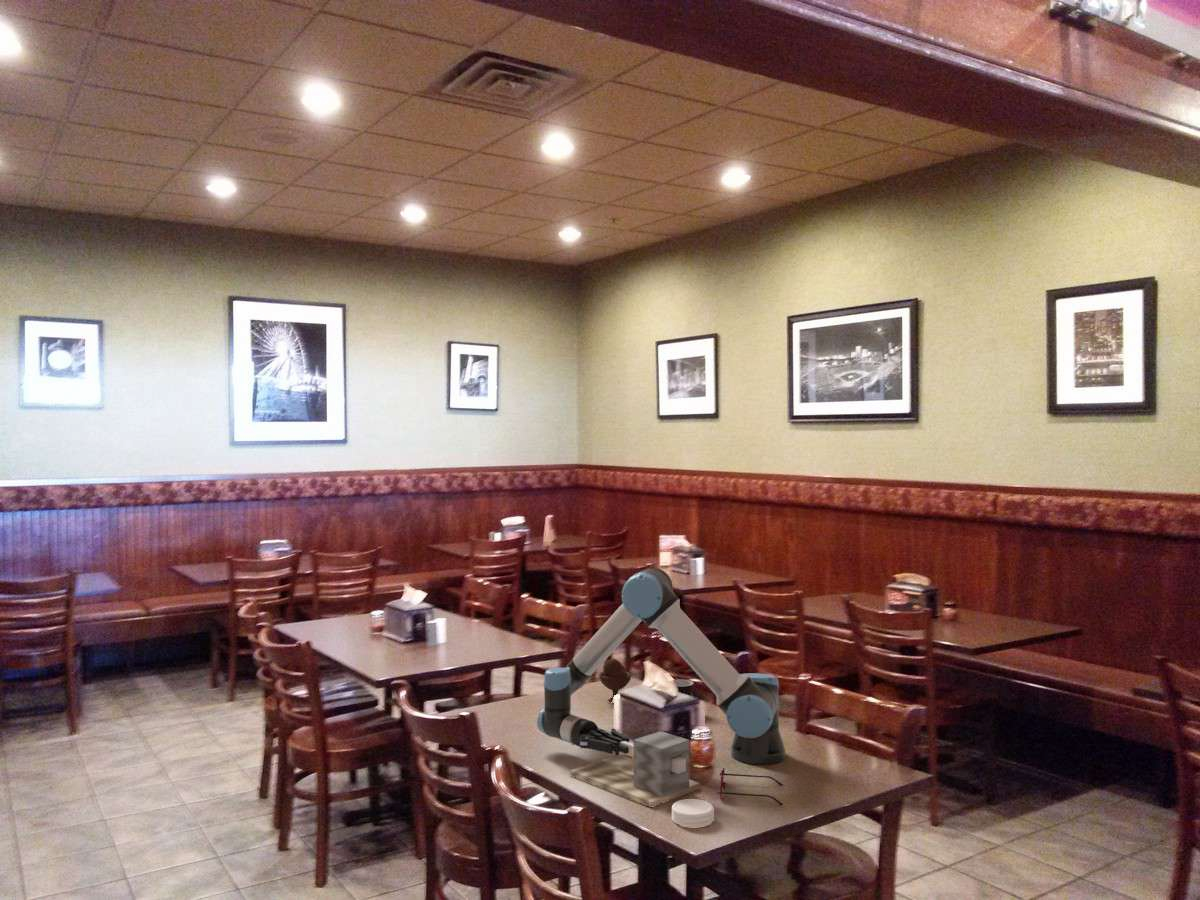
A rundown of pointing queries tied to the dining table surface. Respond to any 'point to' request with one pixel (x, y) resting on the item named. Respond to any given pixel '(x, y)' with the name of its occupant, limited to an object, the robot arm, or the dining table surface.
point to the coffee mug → (685, 686)
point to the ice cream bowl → (614, 676)
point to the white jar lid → (692, 812)
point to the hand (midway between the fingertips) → (639, 752)
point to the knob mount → (644, 770)
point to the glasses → (740, 793)
